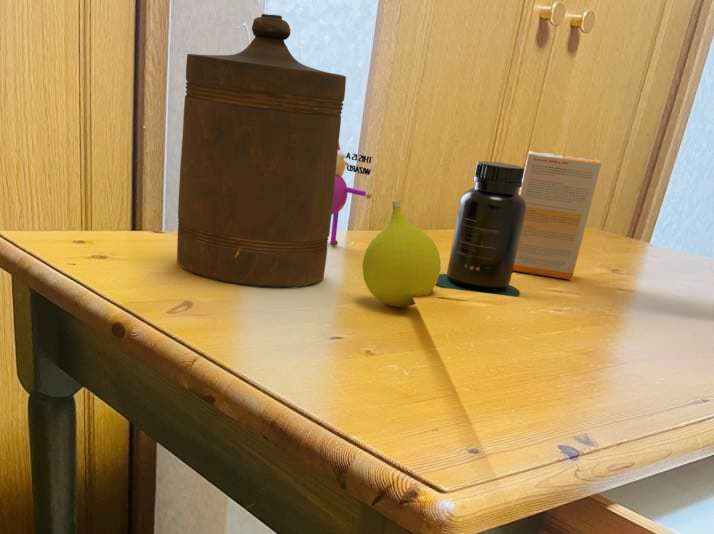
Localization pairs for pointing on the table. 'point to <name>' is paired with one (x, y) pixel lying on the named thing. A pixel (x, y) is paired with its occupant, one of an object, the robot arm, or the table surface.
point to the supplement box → (554, 212)
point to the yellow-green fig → (401, 262)
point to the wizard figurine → (344, 188)
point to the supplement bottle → (488, 229)
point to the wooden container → (258, 163)
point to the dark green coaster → (445, 283)
